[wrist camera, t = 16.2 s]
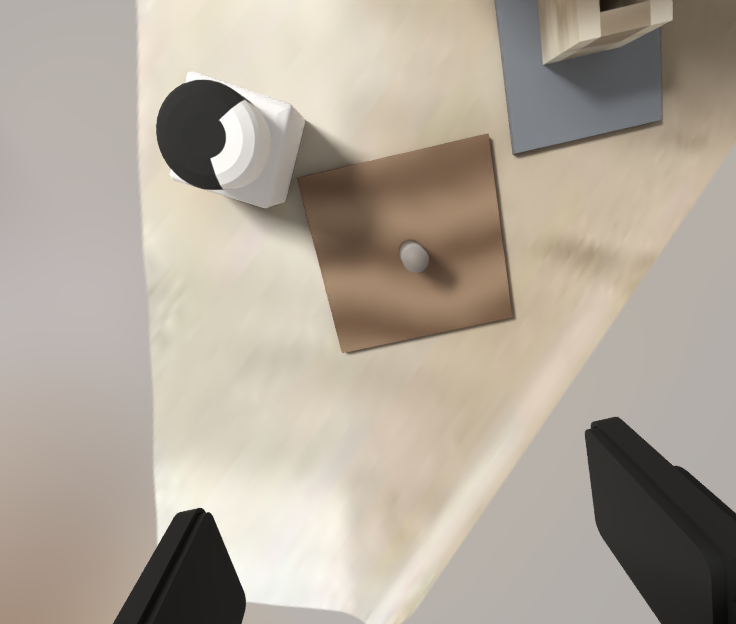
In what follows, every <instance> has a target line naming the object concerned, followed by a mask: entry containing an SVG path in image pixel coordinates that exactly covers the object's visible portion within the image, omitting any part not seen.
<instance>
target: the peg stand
mask: <svg viewBox="0 0 736 624" xmlns="http://www.w3.org/2000/svg"><path fill="white" fill-rule="evenodd" d="M297 180H298V183H299V187H300V191H301V195H302V199H303V203H304V207H305V211H306V215H307V219H308V222H309V226H310V230H311V234H312V238H313V242H314V246H315V250H316V254H317V258H318V261H319V265H320V269H321V273H322V277H323V281H324V285H325V289H326V293H327V296H328V300H329V304H330V308H331V312H332V316H333V320H334V324H335V328H336V332H337V335H338V339H339V343H340V347H341V351H342V353H345V352H350V351H355V350H359V349H364V348H369V347H374V346H378V345H383V344H388V343H393V342H397V341H402V340H407V339H412V338H416V337H421V336H426V335H431V334H435V333H440V332H445V331H450V330H454V329H459V328H464V327H469V326H473V325H478V324H483V323H488V322H493V321H497V320H502V319H507V318H512V310H511V303H510V295H509V287H508V280H507V272H506V264H505V257H504V249H503V242H502V234H501V226H500V219H499V211H498V203H497V196H496V188H495V180H494V173H493V165H492V157H491V150H490V142H489V134H484V135H480V136H475V137H471V138H467V139H462V140H458V141H454V142H450V143H445V144H441V145H437V146H432V147H428V148H424V149H420V150H415V151H411V152H407V153H402V154H398V155H394V156H390V157H385V158H381V159H377V160H372V161H368V162H364V163H360V164H355V165H351V166H347V167H342V168H338V169H334V170H330V171H325V172H321V173H317V174H312V175H308V176H304V177H299V178H297Z"/></svg>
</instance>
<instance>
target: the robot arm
mask: <svg viewBox="0 0 736 624" xmlns="http://www.w3.org/2000/svg"><path fill="white" fill-rule="evenodd" d="M585 440H586V448H587V456H588V465H589V472H590V481H591V489H592V497H593V505H594V513H595V521H596V525H597V527H598V530H599V532H600V534H601V536H602V538H603V539H604V541H605V542H606V544H607V545H608V547H609V548H610V550H611V551H612V553H613V554H614V555H615V557H616V558H617V560H618V561H619V563H620V564H621V566H622V567H623V569H624V570H625V571H626V573H627V575H628V576H629V577H630V579H631V580H632V582H633V583H634V585H635V586H636V588H637V589H638V590H639V592H640V594H641V595H642V596H643V598H644V599H645V601H646V602H647V604H648V605H649V606H650V608H651V610H652V611H653V612H654V614H655V615H656V617H657V618H658V620H659V621H660V623H661V624H736V513H735V512H734V511H732V510H731V509H730V508H729V507H728V506H727V505H726V504H724V503H723V502H722V501H721V500H720V499H719V498H717V497H716V496H715V495H714V494H713V493H712V492H711V491H710V490H708V489H707V488H706V487H705V486H704V485H702V484H701V483H700V482H699V481H698V480H697V479H696V478H694V477H693V476H692V475H691V474H690V473H689V472H688V471H686V470H685V469H683V468H682V467H679V466H673V465H672V464H671V463H669V462H668V461H667V460H666V459H665V458H664V457H663V456H662V455H661V454H659V453H658V452H657V451H656V450H655V449H654V448H653V447H652V446H650V445H649V444H648V443H647V442H646V441H645V440H644V439H642V437H640V436H639V435H638V434H637V433H636V432H635V431H634V430H633V429H631V428H630V427H629V426H628V425H627V424H626V423H625V422H624V421H623V420H621V419H620V418H619V417H612V418H608V419H603V420H599V421H594V422H592V423H591V429H588V430H586V431H585ZM245 607H246V598H245V593H244V590H243V588H242V586H241V583H240V581H239V578H238V576H237V574H236V571H235V569H234V566H233V564H232V561H231V559H230V557H229V554H228V552H227V549H226V547H225V544H224V542H223V540H222V537H221V535H220V532H219V530H218V527H217V525H216V523H215V520H214V518H213V516H212V514H211V513H209V512H207V513H206V512H205V510H204V509H202V508H197V509H192V510H188V511H183V512H179V513H177V514H176V515H175V517H174V518H173V520H172V522H171V523H170V525H169V527H168V529H167V530H166V532H165V534H164V536H163V537H162V539H161V541H160V543H159V544H158V546H157V548H156V550H155V551H154V553H153V555H152V557H151V558H150V560H149V562H148V564H147V565H146V567H145V569H144V571H143V572H142V574H141V576H140V578H139V579H138V581H137V583H136V585H135V586H134V588H133V590H132V592H131V593H130V595H129V597H128V598H127V600H126V602H125V604H124V605H123V607H122V609H121V611H120V612H119V614H118V616H117V618H116V619H115V621H114V623H113V624H241V623H242V620H243V616H244V612H245Z"/></svg>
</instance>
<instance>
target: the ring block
mask: <svg viewBox="0 0 736 624" xmlns="http://www.w3.org/2000/svg"><path fill="white" fill-rule="evenodd" d="M538 12H539V24H540V35H541V47H542V59H543V65H545V64H549V63H554V62H558V61H562V60H567V59H571V58H575V57H580V56H584V55H588V54H593V53H597V52H601V51H606V50H610V49H614V48H619V47H622V46H623V45H625V44H627V43H629V42H631V41H633V40H635V39H637V38H639V37H641V36H643V35H645V34H647V33H649V32H651V31H653V30H655V29H656V28H658V27H660V26H662V25H664V24H666V23H668V22H670V21H672V20H673V0H600V7H599V0H538Z"/></svg>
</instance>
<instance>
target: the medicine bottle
mask: <svg viewBox="0 0 736 624" xmlns="http://www.w3.org/2000/svg"><path fill="white" fill-rule="evenodd" d="M304 125H305V119H304V118H303V117H302V116H301V115H300V113H299V112H298V111H297V110H296V109H295V108H294V107H293V106H292V105H291V104H289V103H286V102H283V101H280V100H277V99H274V98H271V97H268V96H265V95H262V94H259V93H256V92H253V91H250V90H247V89H244V88H241V87H238V86H235V85H233V84H230V83H227V82H224V81H221V80H218V79H215V78H212V77H209V76H206V75H203V74H200V73H197V72H192V71H191V72H189V73H188V74H187V78H186V83H184V84H182V85H180V86H178V87H177V88H175V89H174V90H173V91H172V92H171V93H170V94H169V95H168V96H167V97H166V99H165V100H164V102H163V104H162V106H161V108H160V110H159V114H158V117H157V124H156V134H157V141H158V145H159V149H160V151H161V153H162V156H163V158H164V159H165V161H166V163H167V164H168V166H169V167H170V168H171V171H170V177H171V178H172V179H173V180H175V181H178V182H181V183H185V184H188V185H191V186H194V187H198V188H201V189H204V190H207V191H210V192H214V193H217V194H220V195H223V196H227V197H230V198H233V199H236V200H239V201H243V202H246V203H249V204H252V205H256V206H259V207H262V208H270V207H273V206H276V205H280V204H283V203H285V201H286V198H287V194H288V190H289V186H290V182H291V178H292V174H293V170H294V166H295V162H296V158H297V154H298V149H299V145H300V141H301V137H302V133H303V129H304Z"/></svg>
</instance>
